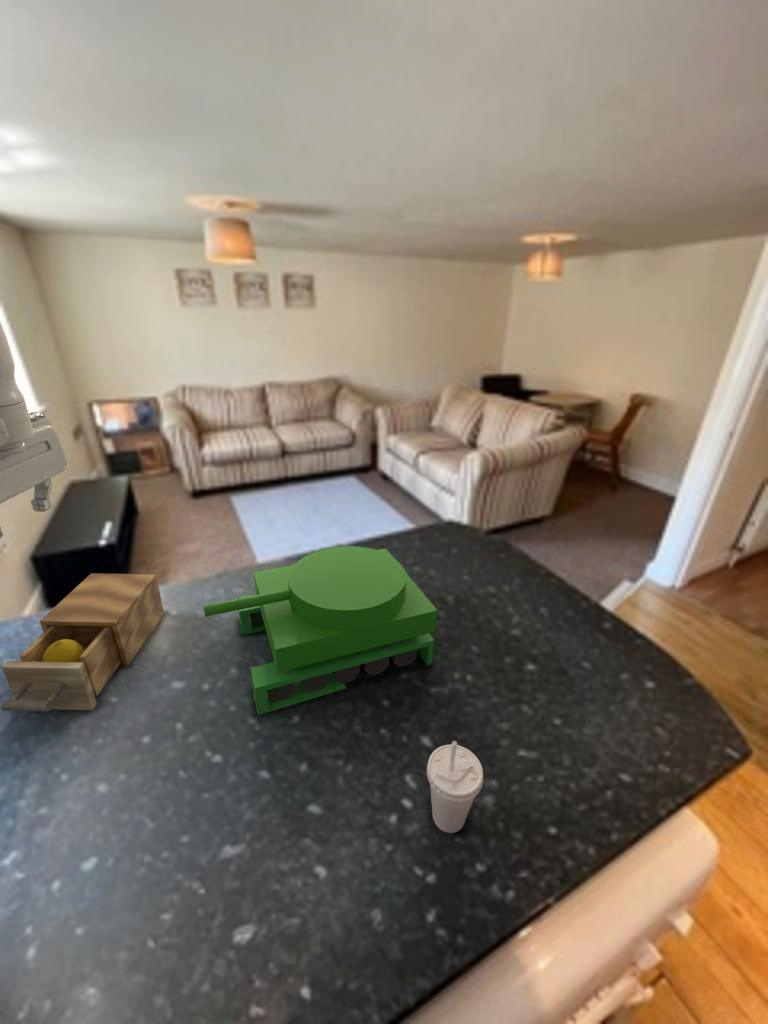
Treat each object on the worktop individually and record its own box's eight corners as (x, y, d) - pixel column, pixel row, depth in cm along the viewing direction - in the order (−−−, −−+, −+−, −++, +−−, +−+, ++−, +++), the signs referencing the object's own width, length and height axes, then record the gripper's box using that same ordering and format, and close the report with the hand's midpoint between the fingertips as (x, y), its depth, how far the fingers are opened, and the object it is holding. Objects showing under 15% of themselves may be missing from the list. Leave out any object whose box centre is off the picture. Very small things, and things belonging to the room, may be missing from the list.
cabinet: (129, 670, 76) (116, 622, 72) (56, 669, 76) (39, 621, 71) (165, 617, 89) (156, 574, 84) (103, 616, 88) (91, 573, 84)
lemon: (66, 699, 67) (51, 658, 64) (42, 687, 69) (27, 647, 66) (100, 675, 72) (88, 635, 69) (77, 664, 74) (64, 625, 71)
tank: (211, 629, 86) (199, 556, 79) (379, 593, 98) (382, 527, 92) (221, 732, 65) (206, 644, 59) (432, 669, 78) (440, 591, 71)
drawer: (74, 736, 63) (58, 693, 60) (-5, 735, 63) (-26, 691, 59) (135, 650, 79) (126, 611, 75) (73, 649, 79) (60, 610, 75)
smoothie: (414, 803, 57) (421, 725, 51) (459, 789, 59) (471, 712, 53) (434, 857, 51) (444, 776, 46) (483, 840, 53) (500, 760, 47)
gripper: (22, 407, 66) (47, 494, 72) (-119, 447, 47) (-70, 559, 53) (66, 409, 66) (87, 496, 72) (-59, 449, 47) (-16, 562, 53)
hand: (19, 523), depth 62 cm, fingers open, 8 cm apart
